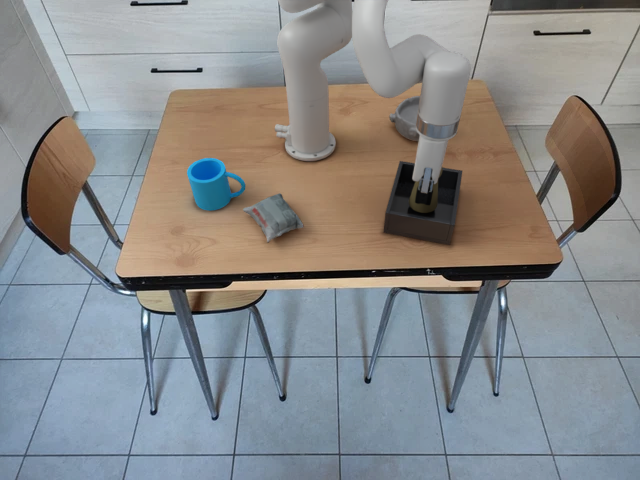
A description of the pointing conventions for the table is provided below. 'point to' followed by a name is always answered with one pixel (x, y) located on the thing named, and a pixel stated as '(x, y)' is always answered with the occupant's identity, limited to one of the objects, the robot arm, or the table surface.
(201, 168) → the mug
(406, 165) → the open box
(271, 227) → the packaged food
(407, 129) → the dish
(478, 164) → the table surface
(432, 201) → the olive pawn
